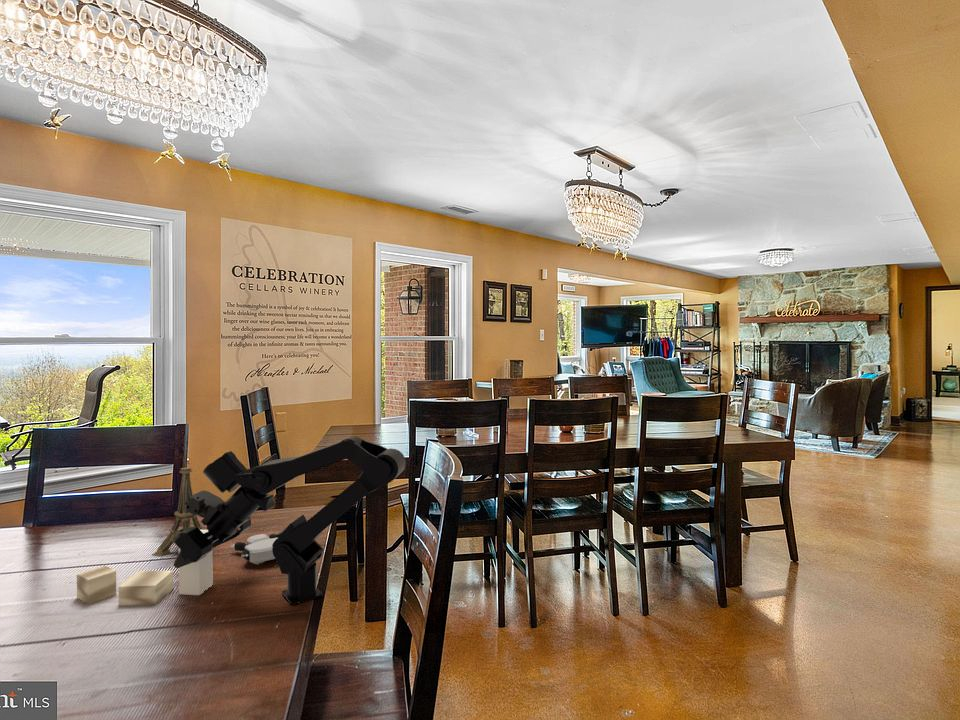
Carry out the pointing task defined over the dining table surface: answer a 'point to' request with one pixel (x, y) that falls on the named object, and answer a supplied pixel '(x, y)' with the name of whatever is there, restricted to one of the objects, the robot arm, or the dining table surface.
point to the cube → (96, 584)
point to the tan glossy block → (145, 587)
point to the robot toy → (257, 548)
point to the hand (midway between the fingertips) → (189, 557)
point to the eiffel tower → (180, 513)
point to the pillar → (196, 575)
